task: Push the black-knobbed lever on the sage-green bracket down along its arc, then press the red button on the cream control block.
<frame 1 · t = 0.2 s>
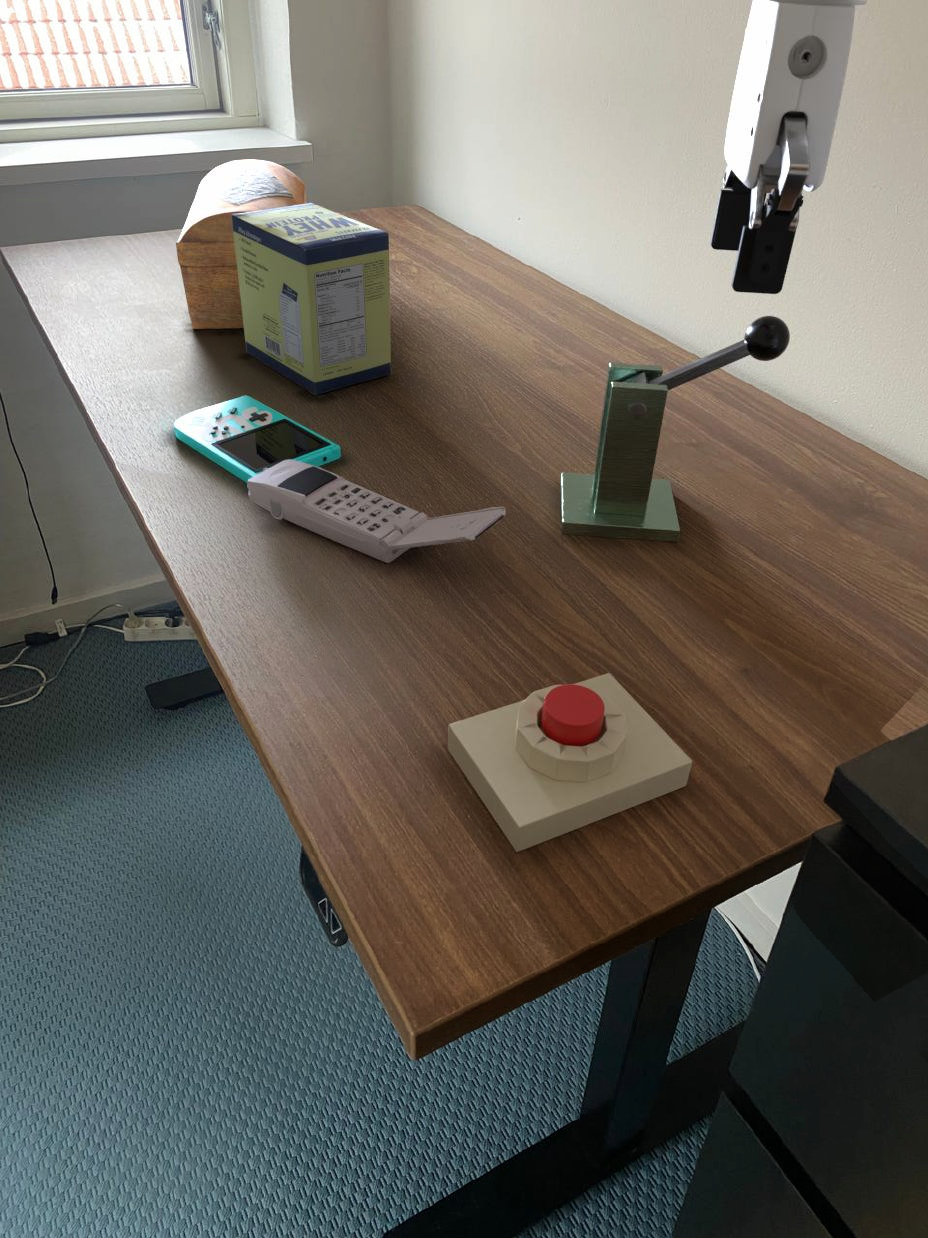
hand: (742, 269, 65), 23 cm above the table, tool pointing down, fingers open, 9 cm apart
wooden box: (258, 292, 127), on the table
button: (572, 715, 55), point 4 cm above the table, slide at 0.1 cm
bracket: (616, 511, 83), on the table
lever: (700, 367, 74), point 14 cm above the table, hinge at 30.0°
protein box: (317, 365, 107), on the table
mobile phone: (361, 535, 78), on the table
button block: (564, 767, 58), on the table
handheld game console: (254, 445, 91), on the table
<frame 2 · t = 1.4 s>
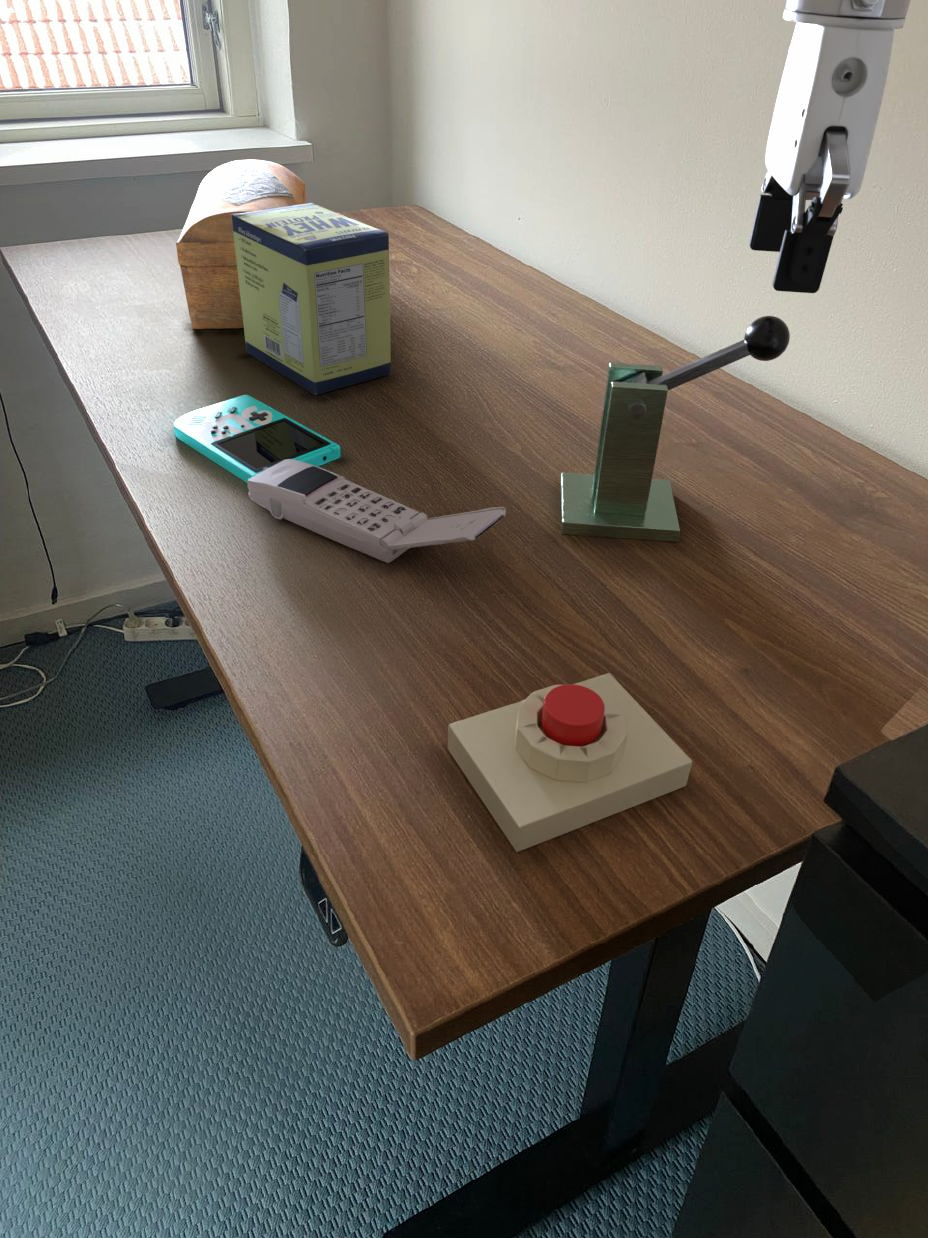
hand: (780, 269, 70), 22 cm above the table, tool pointing down, fingers open, 9 cm apart
mobile phone: (361, 535, 78), on the table, touching handheld game console
handheld game console: (253, 445, 91), on the table, touching mobile phone
everything else where it was.
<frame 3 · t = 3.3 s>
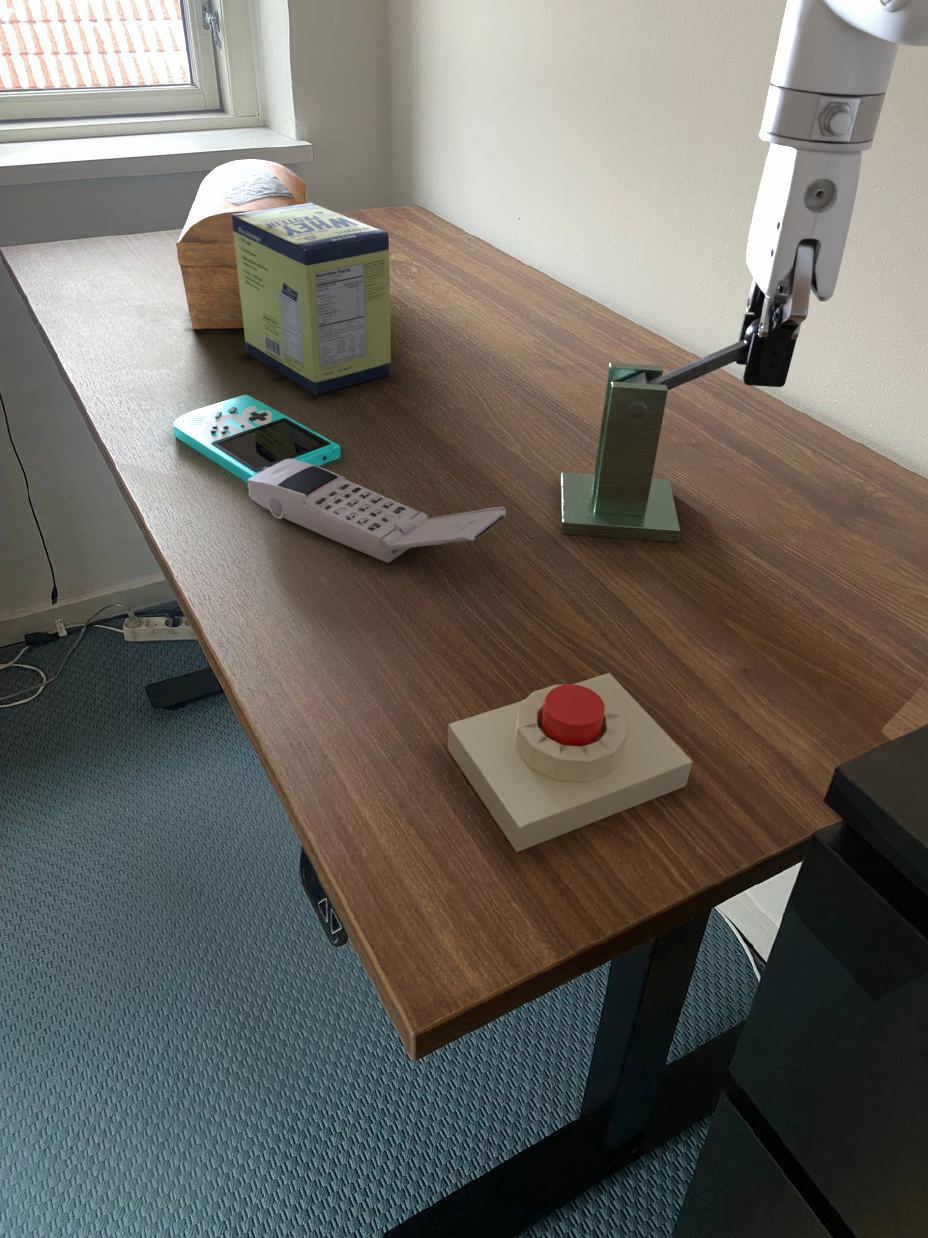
hand: (758, 371, 74), 14 cm above the table, tool pointing down, fingers closed on lever, 3 cm apart
lever: (700, 367, 74), point 14 cm above the table, hinge at 30.0°, touching gripper
everything else where it was.
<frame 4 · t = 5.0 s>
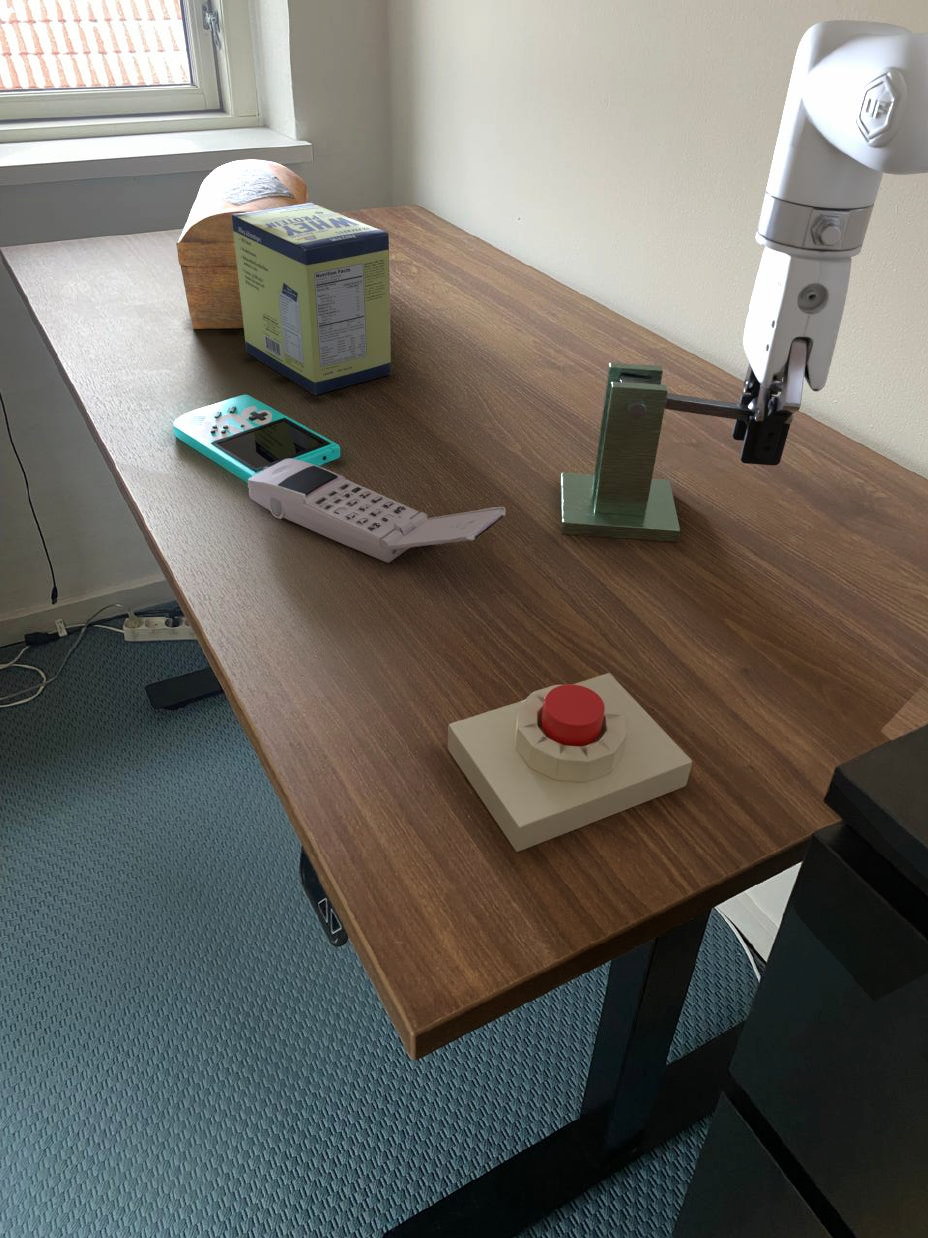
hand: (755, 449, 78), 7 cm above the table, tool pointing down, fingers closed on lever, 3 cm apart
lever: (702, 406, 76), point 11 cm above the table, hinge at -4.9°, touching gripper
everything else where it was.
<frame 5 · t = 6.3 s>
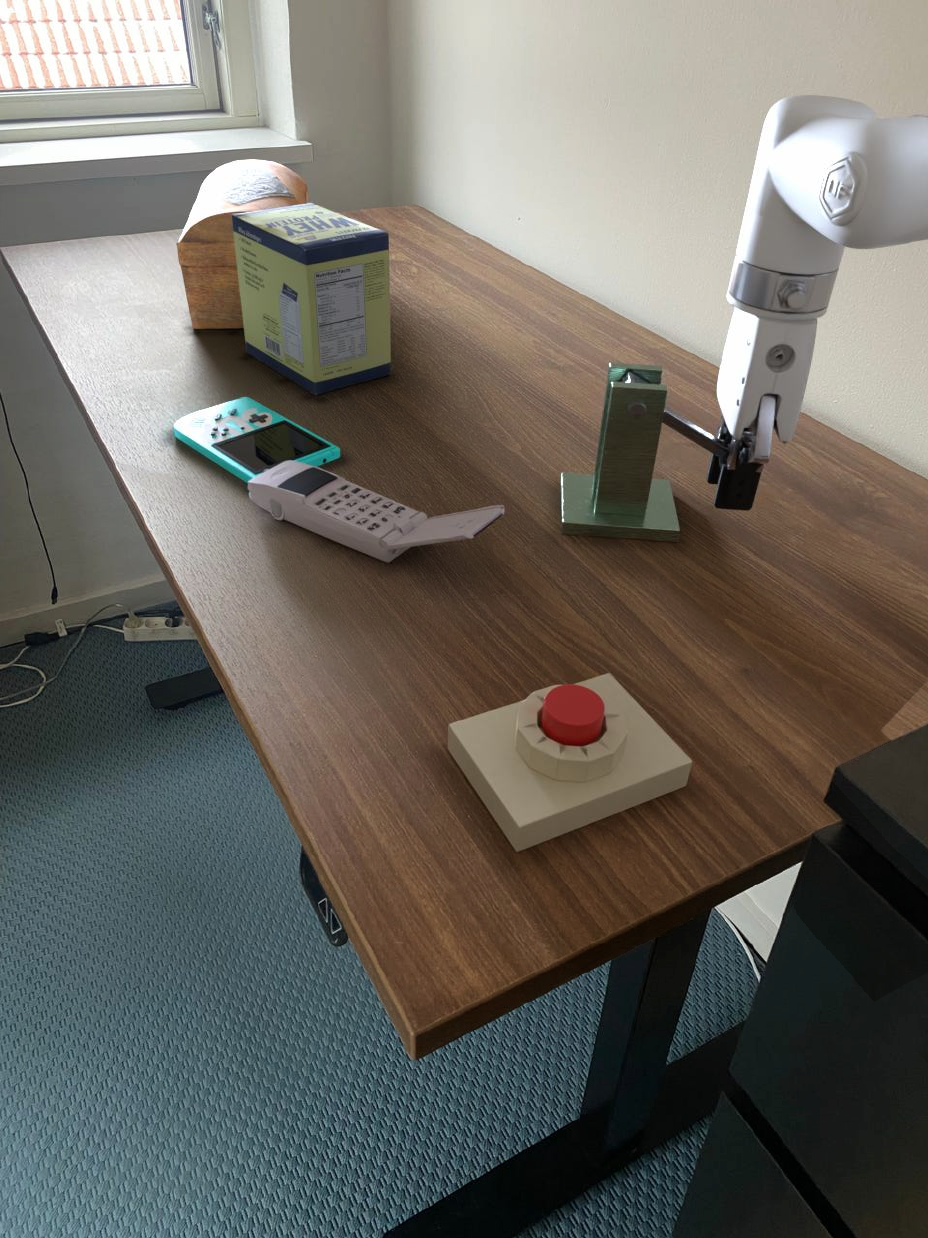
hand: (728, 493, 81), 3 cm above the table, tool pointing down, fingers closed on lever, 3 cm apart
lever: (689, 430, 78), point 8 cm above the table, hinge at -28.2°, touching gripper
everything else where it was.
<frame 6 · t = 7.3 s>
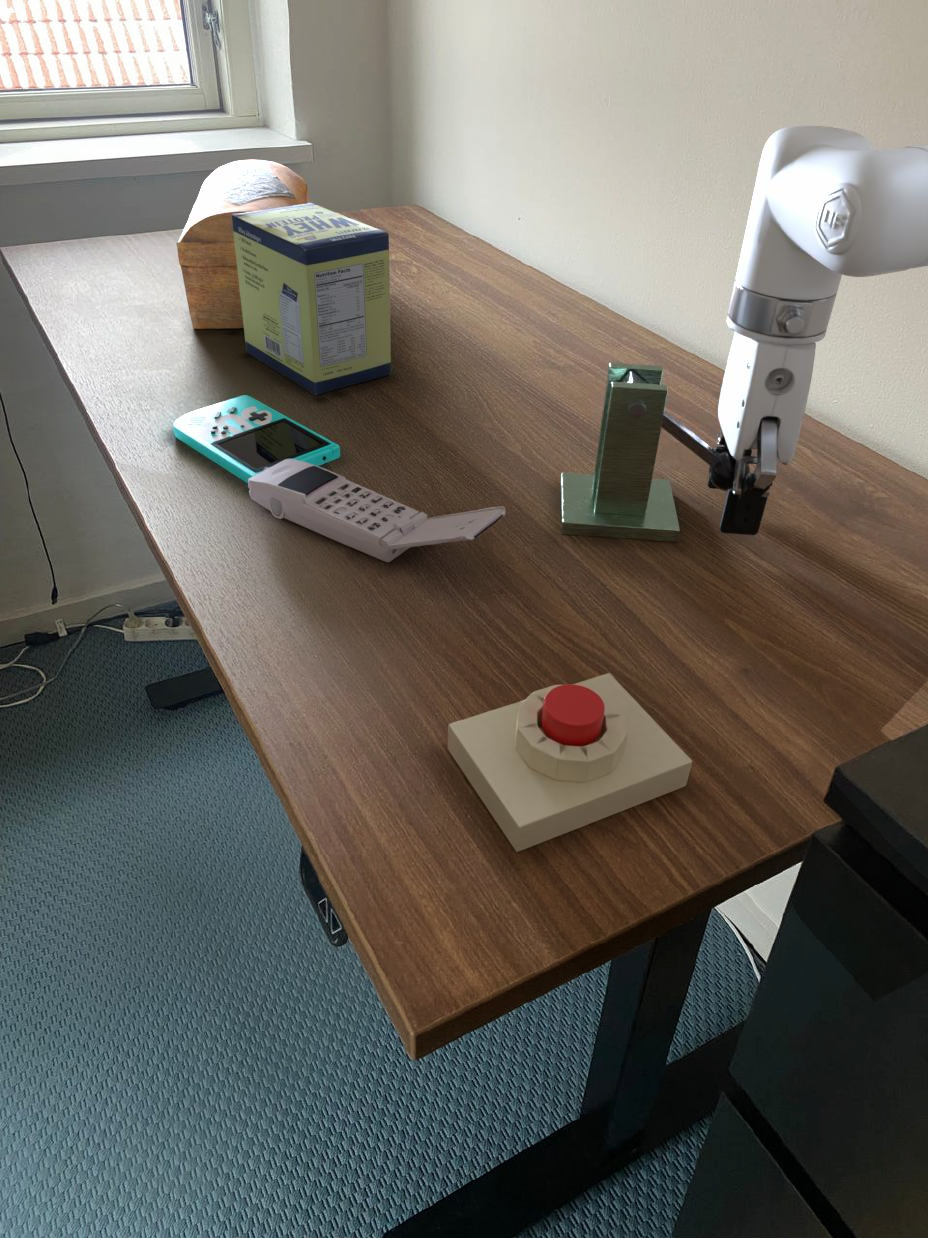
hand: (731, 507, 82), 1 cm above the table, tool pointing down, fingers open, 7 cm apart
lever: (684, 435, 78), point 8 cm above the table, hinge at -34.5°
everything else where it was.
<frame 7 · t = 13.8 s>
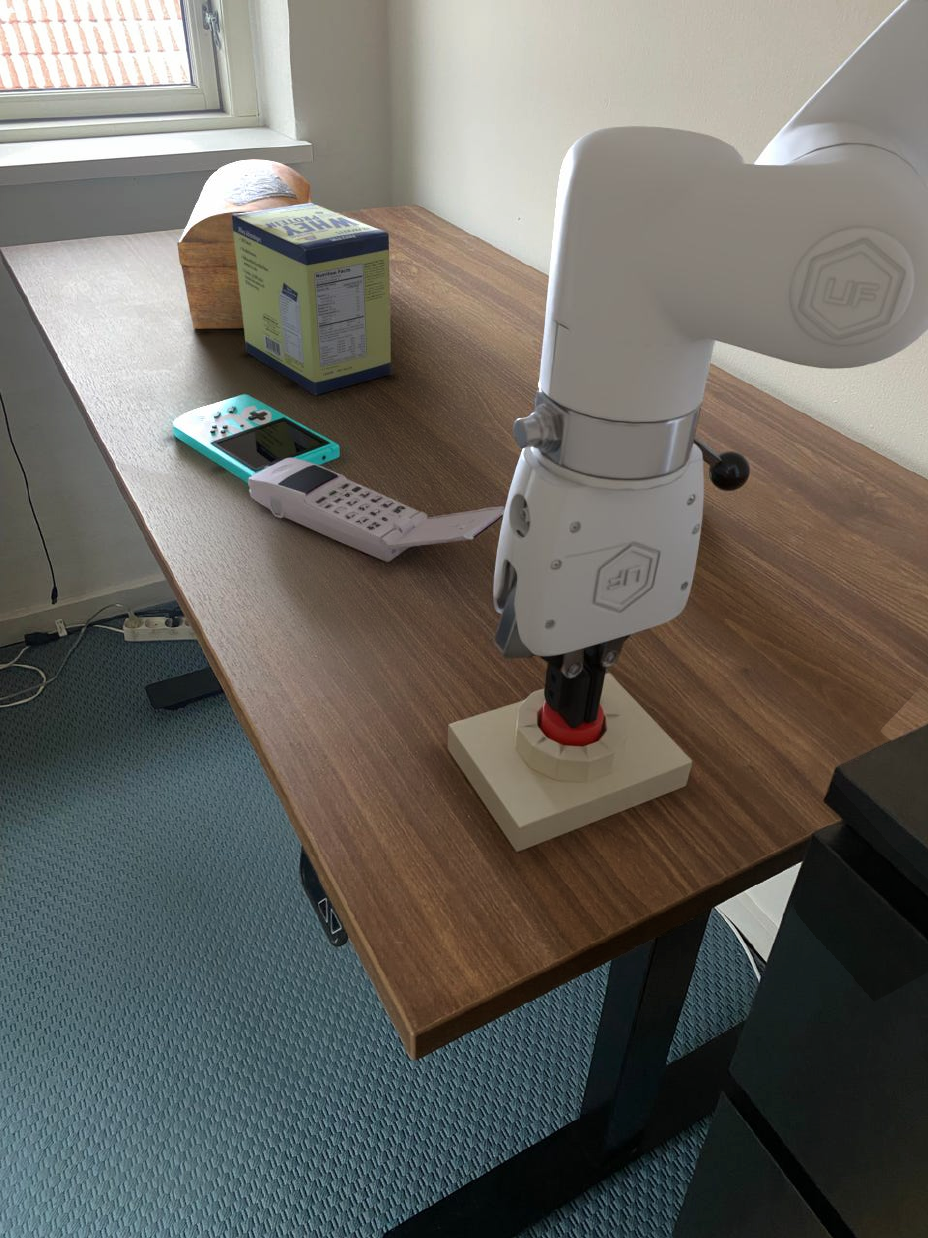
hand: (570, 709, 55), 5 cm above the table, tool pointing down, fingers closed
button: (571, 721, 55), point 4 cm above the table, slide at -0.4 cm, touching gripper
everything else where it was.
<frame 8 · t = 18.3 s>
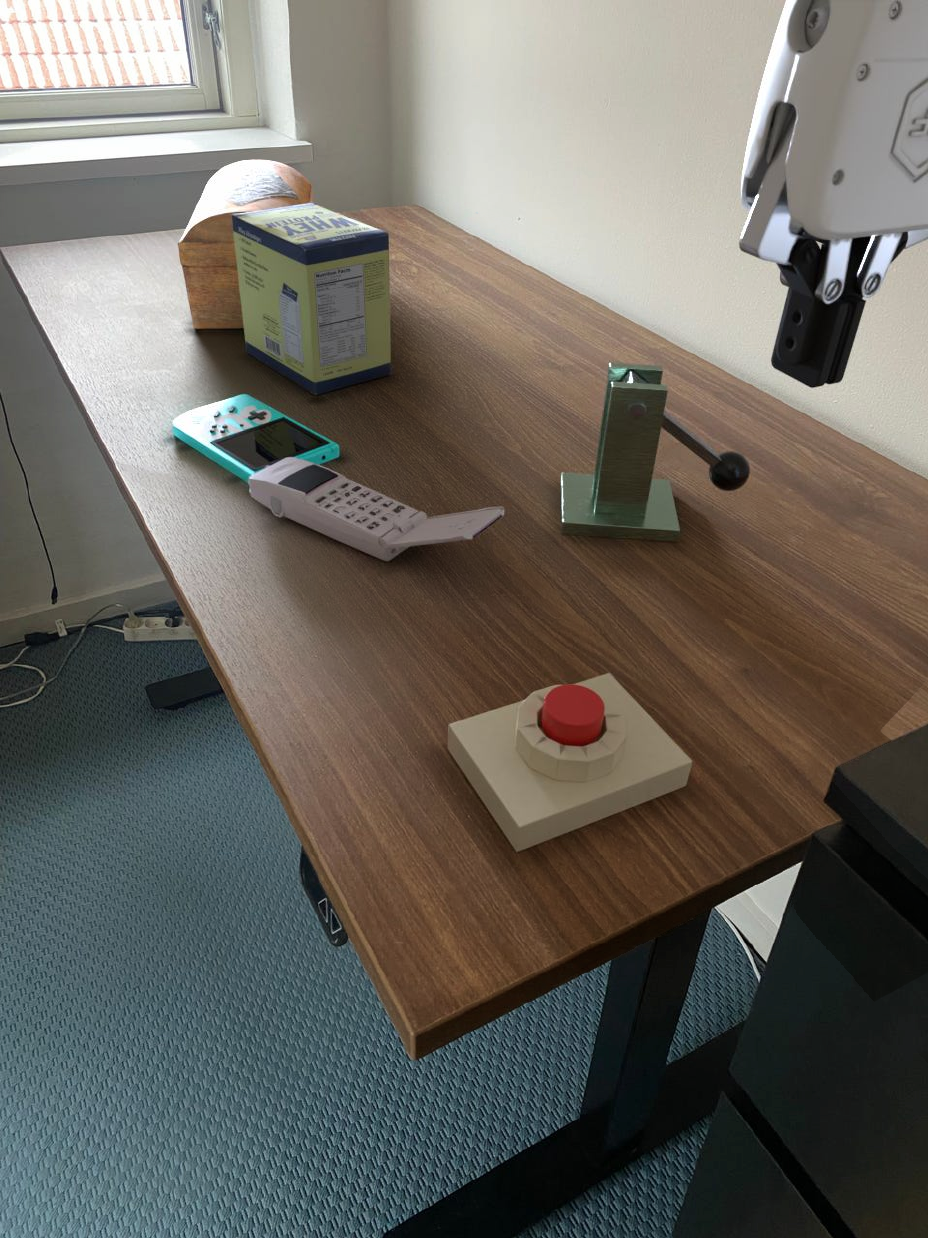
hand: (804, 374, 45), 25 cm above the table, tool pointing down, fingers closed
button: (572, 715, 55), point 4 cm above the table, slide at 0.1 cm
everything else where it was.
at the end: lever at -34° (first picture: +30°); button pushed in 1.1 cm at the most during the clip, back to where it started at the end; button slide at 0.1 cm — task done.
